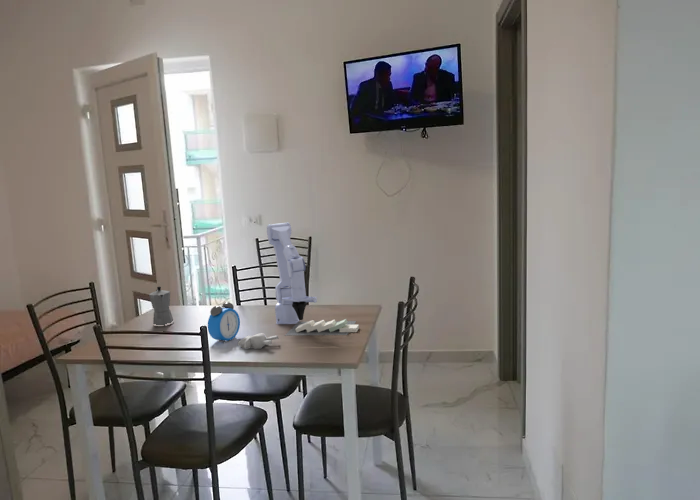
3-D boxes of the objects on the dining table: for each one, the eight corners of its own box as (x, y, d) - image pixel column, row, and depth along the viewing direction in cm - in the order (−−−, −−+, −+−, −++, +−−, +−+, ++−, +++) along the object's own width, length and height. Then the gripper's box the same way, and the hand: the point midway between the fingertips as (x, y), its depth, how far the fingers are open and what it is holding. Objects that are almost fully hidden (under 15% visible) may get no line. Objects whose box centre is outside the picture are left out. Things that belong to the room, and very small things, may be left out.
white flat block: (339, 328, 221) (356, 328, 219) (341, 324, 226) (358, 324, 224) (339, 332, 221) (356, 332, 220) (342, 328, 226) (358, 328, 224)
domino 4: (328, 328, 222) (343, 322, 220) (331, 325, 226) (346, 318, 225) (330, 332, 222) (345, 325, 220) (333, 328, 227) (347, 322, 225)
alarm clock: (220, 345, 216) (216, 308, 214) (208, 344, 219) (204, 307, 217) (242, 335, 227) (238, 300, 225) (230, 334, 230) (226, 299, 228)
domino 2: (305, 329, 224) (320, 323, 222) (309, 325, 228) (323, 319, 227) (307, 332, 224) (322, 326, 222) (310, 328, 229) (325, 322, 227)
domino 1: (295, 329, 225) (310, 323, 223) (298, 325, 229) (313, 319, 228) (296, 332, 225) (311, 326, 223) (300, 328, 230) (314, 323, 228)
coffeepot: (176, 325, 250) (171, 287, 248) (154, 329, 246) (149, 290, 244) (171, 318, 264) (166, 281, 261) (150, 322, 260) (145, 285, 257)
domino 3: (316, 328, 223) (332, 322, 221) (319, 325, 228) (334, 319, 226) (318, 332, 223) (333, 326, 221) (321, 328, 228) (336, 322, 226)
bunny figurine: (245, 332, 217) (279, 329, 212) (248, 345, 218) (281, 342, 213) (233, 340, 209) (267, 337, 203) (236, 353, 209) (270, 350, 204)
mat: (284, 336, 222) (284, 335, 222) (298, 322, 241) (298, 321, 240) (347, 335, 217) (347, 334, 217) (356, 321, 235) (356, 321, 235)
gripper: (278, 290, 222) (281, 322, 224) (312, 289, 219) (315, 322, 221) (283, 286, 228) (286, 317, 231) (317, 285, 225) (319, 317, 228)
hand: (301, 319), depth 226 cm, fingers closed
